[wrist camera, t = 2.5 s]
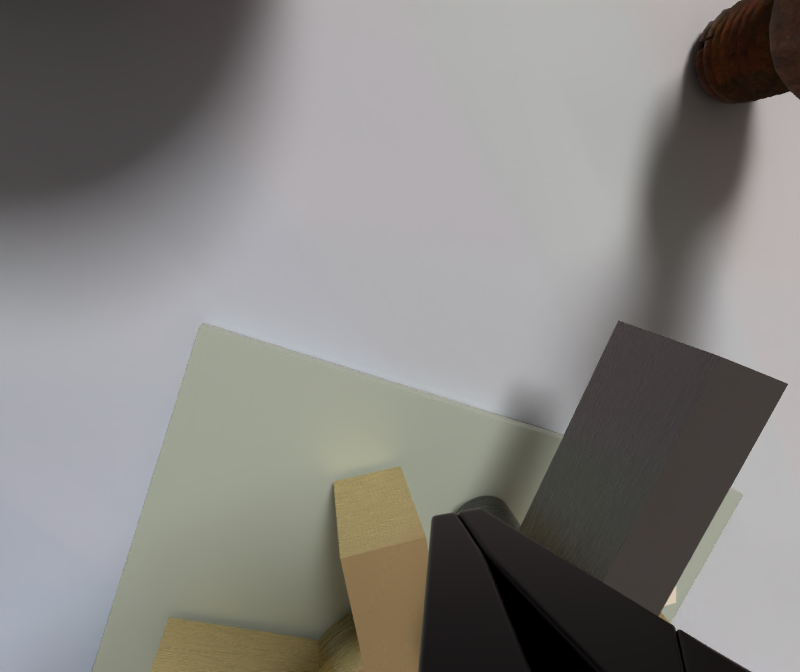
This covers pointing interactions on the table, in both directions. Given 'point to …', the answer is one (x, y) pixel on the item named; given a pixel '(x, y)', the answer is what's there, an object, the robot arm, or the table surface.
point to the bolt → (751, 51)
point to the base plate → (302, 490)
